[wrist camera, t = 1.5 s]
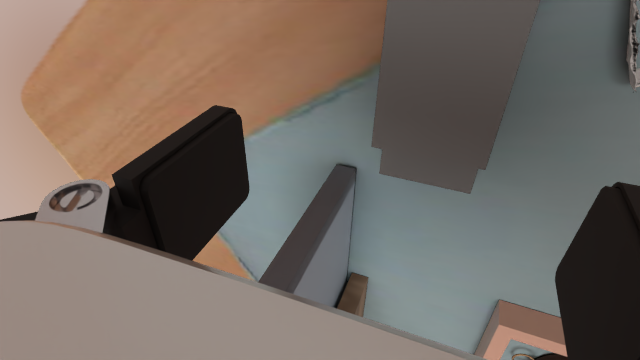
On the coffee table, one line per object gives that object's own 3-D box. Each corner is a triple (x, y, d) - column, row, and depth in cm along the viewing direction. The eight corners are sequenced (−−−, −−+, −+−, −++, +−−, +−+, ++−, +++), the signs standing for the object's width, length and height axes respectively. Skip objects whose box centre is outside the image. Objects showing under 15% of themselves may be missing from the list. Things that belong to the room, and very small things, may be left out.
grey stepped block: (538, -44, 19) (549, -31, 14) (472, 173, 26) (466, 228, 22) (416, -50, 20) (391, -39, 16) (387, 155, 28) (365, 202, 23)
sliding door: (356, 168, 29) (226, 393, 15) (344, 300, 38) (257, 513, 25) (336, 164, 30) (194, 378, 16) (330, 295, 39) (236, 501, 25)
